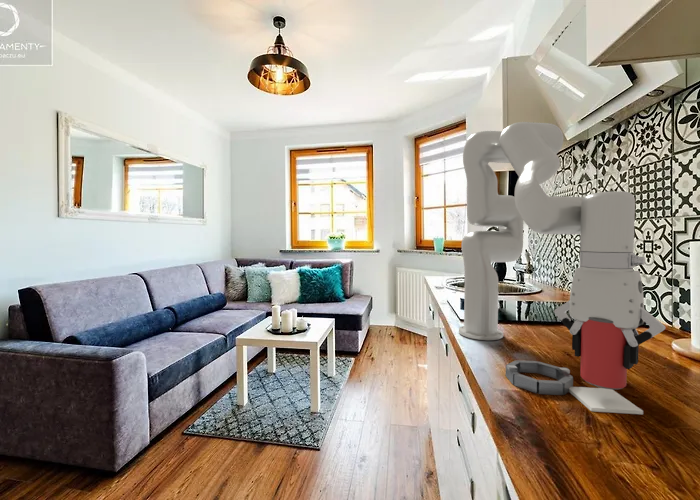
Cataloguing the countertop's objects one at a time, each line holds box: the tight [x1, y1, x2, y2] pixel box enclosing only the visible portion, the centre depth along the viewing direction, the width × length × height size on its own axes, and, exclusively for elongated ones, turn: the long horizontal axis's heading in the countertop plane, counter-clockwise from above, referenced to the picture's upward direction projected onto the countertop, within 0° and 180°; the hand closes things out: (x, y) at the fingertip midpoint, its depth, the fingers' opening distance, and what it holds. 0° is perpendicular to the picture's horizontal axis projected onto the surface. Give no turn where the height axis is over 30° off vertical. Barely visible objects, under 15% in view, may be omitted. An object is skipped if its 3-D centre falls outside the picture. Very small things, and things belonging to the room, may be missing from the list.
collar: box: [505, 359, 574, 396], centre depth 67 cm, size 11×12×3 cm
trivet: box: [568, 386, 644, 415], centre depth 59 cm, size 8×8×1 cm
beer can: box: [579, 317, 628, 391], centre depth 58 cm, size 7×7×12 cm
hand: (603, 359), depth 58 cm, fingers closed on beer can, 6 cm apart
